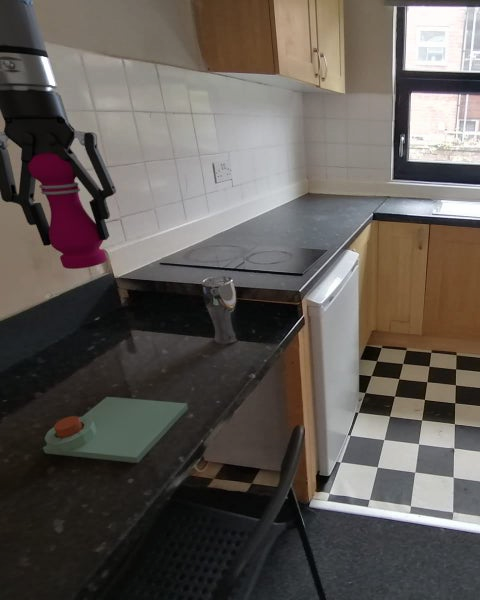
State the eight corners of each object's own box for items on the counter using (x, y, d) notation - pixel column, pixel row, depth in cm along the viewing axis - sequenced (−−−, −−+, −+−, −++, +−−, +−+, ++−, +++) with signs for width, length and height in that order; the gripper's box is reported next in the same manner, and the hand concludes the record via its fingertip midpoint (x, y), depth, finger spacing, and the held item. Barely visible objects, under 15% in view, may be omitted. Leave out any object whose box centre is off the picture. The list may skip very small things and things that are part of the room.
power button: (52, 437, 63) (48, 428, 62) (69, 423, 66) (66, 415, 65) (70, 439, 63) (66, 430, 62) (87, 425, 66) (84, 416, 65)
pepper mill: (86, 271, 67) (42, 141, 58) (48, 269, 68) (-1, 141, 59) (120, 257, 73) (84, 139, 65) (85, 256, 74) (45, 139, 66)
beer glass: (249, 335, 98) (240, 278, 92) (225, 348, 93) (213, 288, 87) (230, 329, 102) (220, 273, 96) (206, 340, 96) (193, 282, 90)
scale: (41, 456, 63) (34, 441, 62) (108, 401, 75) (104, 388, 74) (135, 466, 61) (130, 451, 60) (188, 408, 74) (185, 395, 72)
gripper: (-81, 86, 53) (-8, 254, 62) (102, 90, 60) (142, 239, 69) (-50, 89, 59) (12, 241, 68) (112, 93, 66) (148, 229, 76)
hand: (77, 240), depth 69 cm, fingers closed on pepper mill, 7 cm apart
